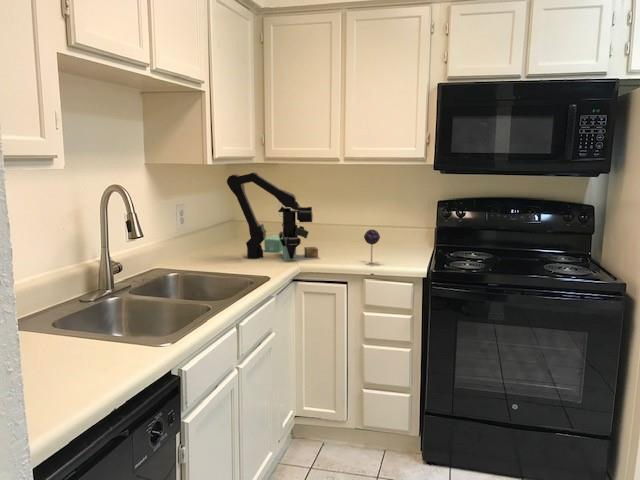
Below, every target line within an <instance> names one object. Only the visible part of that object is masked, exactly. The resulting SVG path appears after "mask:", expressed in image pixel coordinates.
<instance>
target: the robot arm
mask: <svg viewBox="0 0 640 480" xmlns="http://www.w3.org/2000/svg"><path fill="white" fill-rule="evenodd" d="M248 183H254V184H255V185H256V186H258V187H259V188H261V189H263V190H264V191H266V192H267V193H269V194H270V195H272V196H273V197H274V198H275V199H277V201H279V203H281V205H282V206H281V207H280V208H279V209H278V211H277V212H278V213H282V223H281V227H282V231H280V232H279V233H278V235H279V238H281V239H280V241H281V244H282V246H286V248H287V251H288V254H289V256H290V259H293V256H294V252H295V249H296V250H297V247H299V246H300V245H301V244H302V243H301V241H302V240H301V238H300V237H303V239H307V238H308V235H309V233H310V232H309V231H308V230H307V229H305V227H304V226H302V225H299V226H298V225H297V223H296V222H297V221H299V223H313V221H314V220H313V217H314V216H313V215H314V214H313V207H312V206H302V207H301V206H300V204H299V203H298V201H297V198H296V195H295V194H294V193H292V192H289V191H286V190H285V189H282V188H279V187H278V186H276V185H275V184H273V183H272V182H270V181H268V180H267V179H265V178H264V177H263V176H260V174H258V172H251V173H247V174H243V175H239V174H232V175H229V176H228V178H227V179H226V184H227V186H228V188H229V189H230V191H231V192H232V193H233V194H234V195H235V197H236V199H237V201H238V205H239V206H240V209H241V211H242V213H243V215H244V218H245V220H246V223H247V225H248V230H249V236H250V239H248V240H247V241H246V242H245V245H246V258H247V259H252V260H255V259H257V260H258V259H262V258H264V248H262V247H263V246H262V243H263V241H264V240H265V239H266V238H267V237H266V236H267V230H266V229H265V226H264V224H263V223H262V224H260V223H259V222H258V220H257V217H256V215H255V213H254V211H253V208H252V206H251V204H250V201H249V199H248V197H247V194H246V190H245V189H246V188H245V184H248ZM296 220H297V221H296Z"/></svg>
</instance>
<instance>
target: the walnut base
mask: <svg viewBox="0 0 640 480" xmlns="http://www.w3.org/2000/svg"><path fill="white" fill-rule="evenodd" d="M304 254H305V257H306V258H318V257H319V249H318V247H316V246H305V247H304Z"/></svg>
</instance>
